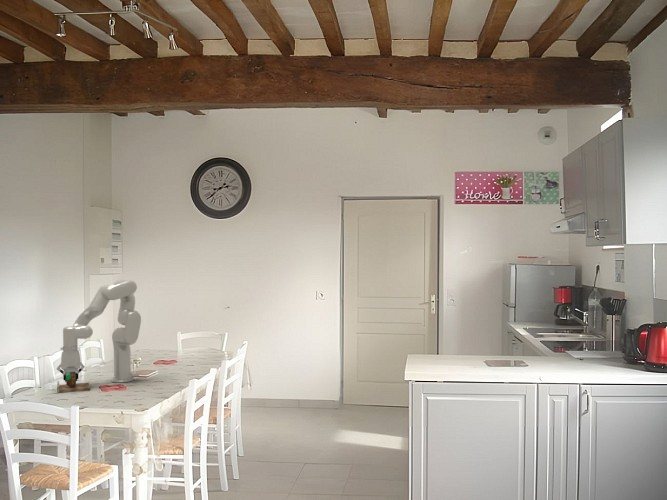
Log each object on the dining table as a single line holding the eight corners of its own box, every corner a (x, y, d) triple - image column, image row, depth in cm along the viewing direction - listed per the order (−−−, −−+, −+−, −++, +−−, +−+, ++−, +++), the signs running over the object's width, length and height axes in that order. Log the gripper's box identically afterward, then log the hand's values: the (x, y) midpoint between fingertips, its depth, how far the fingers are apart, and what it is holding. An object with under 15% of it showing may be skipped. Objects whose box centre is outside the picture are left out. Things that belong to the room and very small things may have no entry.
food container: (64, 383, 397) (64, 365, 397) (76, 382, 399) (75, 364, 399) (63, 387, 386) (63, 368, 386) (75, 386, 388) (75, 368, 388)
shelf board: (89, 385, 404) (89, 379, 404) (90, 390, 389) (90, 384, 389) (57, 387, 398) (57, 381, 398) (57, 393, 383) (57, 386, 383)
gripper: (54, 350, 386) (54, 383, 386) (86, 348, 392) (87, 380, 393) (54, 348, 393) (54, 381, 393) (86, 346, 399) (86, 378, 400)
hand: (71, 380), depth 393 cm, fingers closed on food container, 5 cm apart
